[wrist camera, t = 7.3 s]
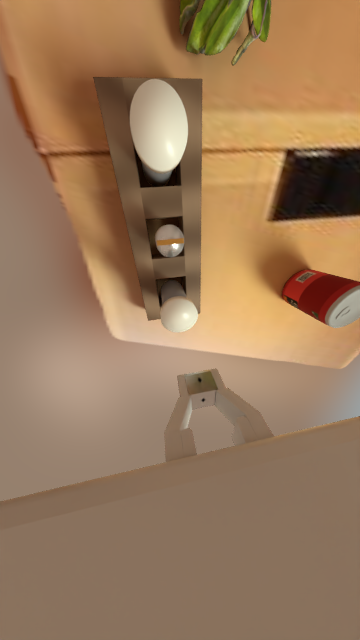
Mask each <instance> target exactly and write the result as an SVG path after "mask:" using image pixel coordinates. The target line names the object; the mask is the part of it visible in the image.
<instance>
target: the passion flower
mask: <svg viewBox="0 0 360 640" xmlns="http://www.w3.org/2000/svg"><path fill="white" fill-rule="evenodd" d="M199 1H200V0H181V1H180V14H181V15H180V19H179V21H180V31H181V34H182V35H183V33H184V28H185V25H186V23H187V22H188V21H189V20H190V18H191V17H192V16H193V15H194V13H195V12H196V10H197V8H198V5H199ZM250 2H251V0H204V3H203V5H202V9H201V11H200V12H197V13H196V16H195V19H194V21H193V25H192V28H191V31H190V34H189V37H188V41H187V44H186V50H187V51H188V52H191V53H194V54H196V55H198V54H200V53H202V54H205V55H214V54H217V53H220V52H221V51H222V50H223V49H224V48H225V47H226V46H227V45H228V44H229V43H230V41H231V40H232V39H233V38H234V36H235V35H236V33H237V31H238V29H239V27H240V25H241V23H242V21H243V18H244V15H245V13H246V11H247V9H248V7H249V5H250ZM270 16H271V0H253V6H252V17H253V21H252V24H251V27H250V31H249V34H248V35H247V37H246V38H245V40H244V42H243V44H242V45H241V46H240V47H239V48H238V50H237V53H236V55H235V56H234V58H233V60H232V62H231V63H232V65H235V64H236V63H237V61H238V60H239V58H240V57H241V56H242V54H243V53H244V52H245V50H246V49H247V47H248V46H249V44H250V43H251V42H252V41H254V40H255V39H257V38H258V37H259V39H260V40H261V41H263V42H266V40H267V37H268V33H269V27H270ZM255 31H256V34H257V36H256V34H255Z"/></svg>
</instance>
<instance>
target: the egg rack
mask: <svg viewBox="0 0 360 640" xmlns="http://www.w3.org/2000/svg"><path fill="white" fill-rule="evenodd" d="M93 78H94V83H95V87H96V91H97V96H98V100H99V105H100V109H101V114H102V118H103V122H104V127H105V131H106V136H107V140H108V145H109V149H110V153H111V158H112V162H113V167H114V171H115V176H116V180H117V184H118V189H119V193H120V198H121V202H122V207H123V211H124V215H125V220H126V224H127V229H128V233H129V238H130V242H131V246H132V251H133V255H134V260H135V264H136V269H137V273H138V278H139V282H140V286H141V291H142V295H143V300H144V304H145V309H146V313H147V317H148V321H149V320H156V319H161V315H160V311H161V307H162V298H159V296H158V289H157V283H156V279H163V278H172V277H181V276H182V284H183V290H184V292H185V294H186V296H187V298H188V299H190V300H191V301H192V302H193V303H194V305H195V307H196V309H197V312H198V314H199V313H200V279H201V169H202V79H179V78H118V77H93ZM151 79H160V80H162V81H165V82H166V83H168V84H169V85H170V86H172V88H173V89H174V90H175V91H176V92H177V94H178V95H179V97H180V99H181V101H182V103H183V105H184V108H185V112H186V116H187V122H188V138H187V144H186V148H185V151H184V153H183V156H182V158H181V160H180V162H179V164H178V165H177V166H176V167H175V168H176V185H177V186H167V187H149V188H141V184H140V178H139V171H138V165H137V159H136V153H135V147H134V143H133V138H132V134H131V128H130V108H131V103H132V100H133V97H134V94H135V93H136V91H137V89H138V88H139V87H140V86H141V85H142V84H143V83H144V82H146V81H148V80H151ZM168 218H179V229H180V230H181V232H182V233H183V236H184V247H183V249H182V251H181V253H179V254H178V255H177V256H175V257H166V256H164V255H162V254H161V255H152V252H151V246H150V240H149V234H148V227H147V221H146V220H155V219H168Z"/></svg>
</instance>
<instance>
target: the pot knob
mask: <svg viewBox="0 0 360 640" xmlns="http://www.w3.org/2000/svg"><path fill="white" fill-rule="evenodd" d="M155 242H156V246H157V249H158V250H159V252H160V253H161V254H162V255H164V256H166V257H175V256H177V255H178V254H179V253H180V252H181V251H182V249H183V247H184V236H183V233H182V232H181V230H180V229H179V228H178V227H176V226H175V225H164V226H161V227H160V228H158V230H157V231H156V234H155Z"/></svg>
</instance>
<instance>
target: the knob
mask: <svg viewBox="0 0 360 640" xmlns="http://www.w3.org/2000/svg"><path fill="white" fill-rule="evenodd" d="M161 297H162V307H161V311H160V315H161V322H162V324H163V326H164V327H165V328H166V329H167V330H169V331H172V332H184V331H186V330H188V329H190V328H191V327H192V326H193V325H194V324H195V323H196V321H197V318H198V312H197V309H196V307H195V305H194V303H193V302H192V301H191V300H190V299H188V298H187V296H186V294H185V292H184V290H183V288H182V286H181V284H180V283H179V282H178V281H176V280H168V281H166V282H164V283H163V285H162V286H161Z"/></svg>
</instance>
